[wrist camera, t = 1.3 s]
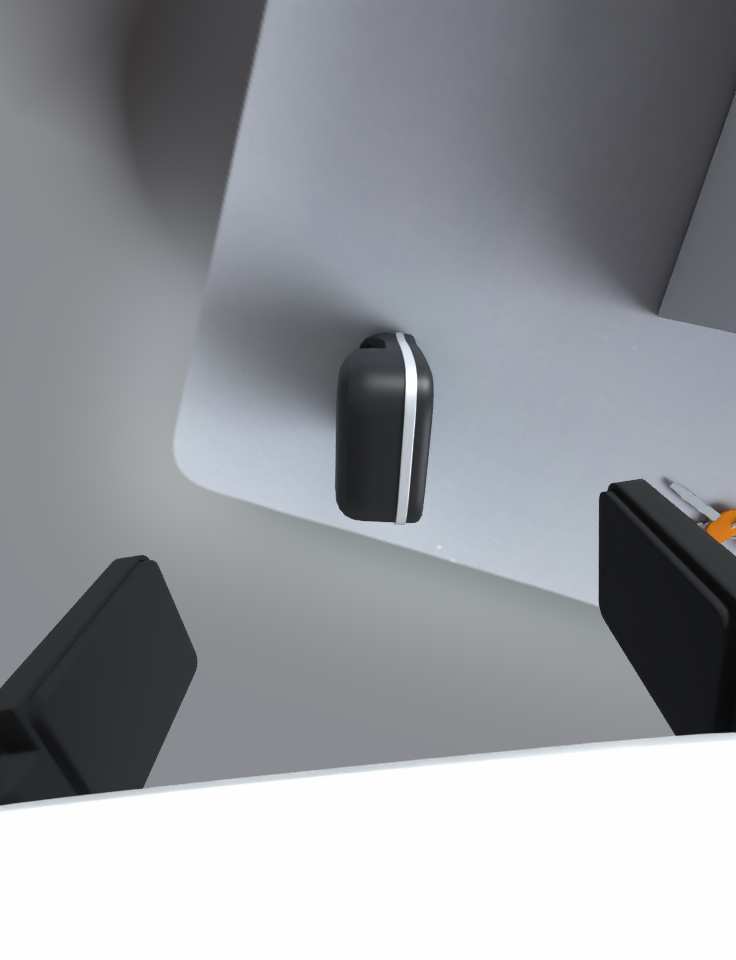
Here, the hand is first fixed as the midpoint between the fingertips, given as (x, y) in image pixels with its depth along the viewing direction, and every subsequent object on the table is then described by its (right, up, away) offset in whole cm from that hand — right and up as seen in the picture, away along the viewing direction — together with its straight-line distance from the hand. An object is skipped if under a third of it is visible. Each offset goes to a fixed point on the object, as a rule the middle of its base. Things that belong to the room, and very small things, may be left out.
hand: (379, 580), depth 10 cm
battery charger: (0, +8, +19) cm, 20 cm away
